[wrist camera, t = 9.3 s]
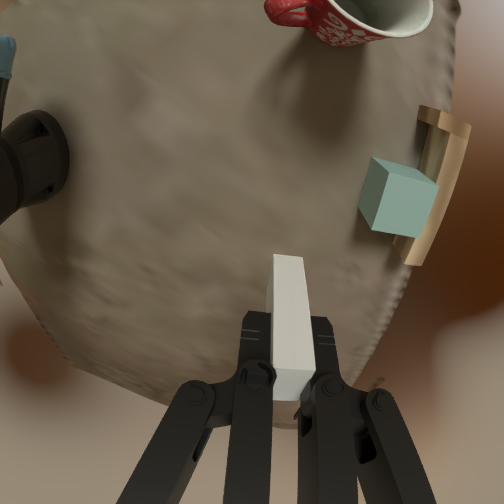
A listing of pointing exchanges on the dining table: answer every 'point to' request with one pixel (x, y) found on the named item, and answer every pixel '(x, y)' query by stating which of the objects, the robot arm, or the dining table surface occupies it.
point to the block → (396, 198)
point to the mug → (353, 18)
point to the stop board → (436, 176)
